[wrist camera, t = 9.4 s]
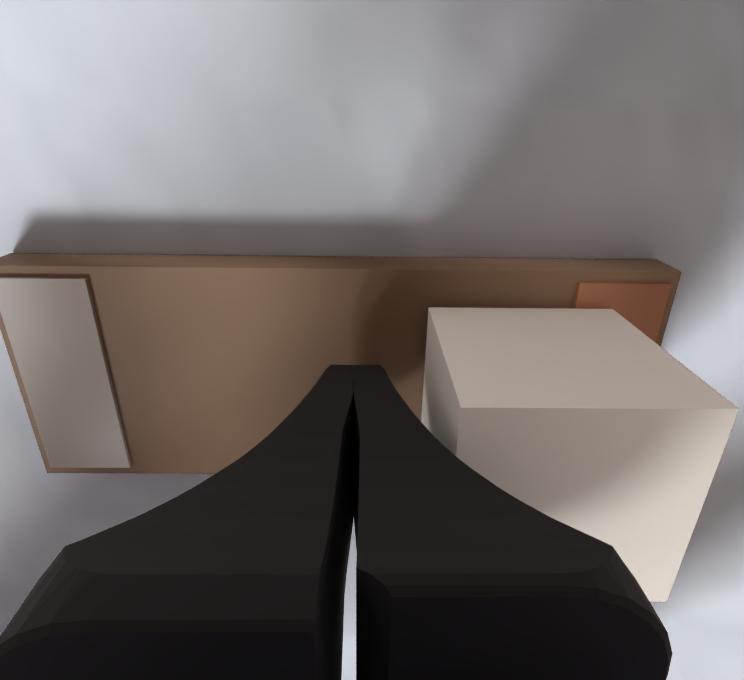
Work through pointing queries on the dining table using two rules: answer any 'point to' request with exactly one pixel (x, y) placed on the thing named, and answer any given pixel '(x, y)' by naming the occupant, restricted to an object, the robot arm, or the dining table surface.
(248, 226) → the dining table surface
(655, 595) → the cream cube block
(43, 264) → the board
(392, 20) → the dining table surface
